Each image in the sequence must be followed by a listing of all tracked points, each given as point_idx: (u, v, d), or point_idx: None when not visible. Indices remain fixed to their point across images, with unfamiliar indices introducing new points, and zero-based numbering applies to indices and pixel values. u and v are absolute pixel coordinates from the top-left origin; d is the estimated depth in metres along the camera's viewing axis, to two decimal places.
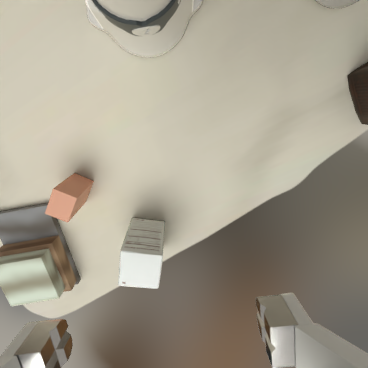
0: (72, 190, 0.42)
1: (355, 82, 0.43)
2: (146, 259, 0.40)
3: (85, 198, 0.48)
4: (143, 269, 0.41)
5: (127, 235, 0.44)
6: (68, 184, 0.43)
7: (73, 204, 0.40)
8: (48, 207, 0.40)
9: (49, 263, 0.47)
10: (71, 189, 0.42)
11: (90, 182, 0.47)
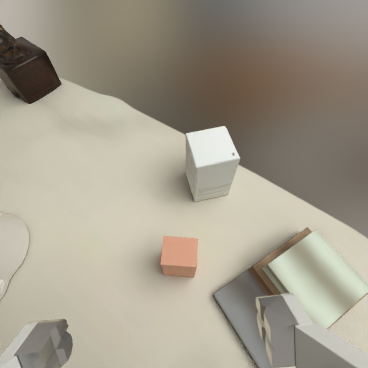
0: None
1: (31, 96, 0.60)
2: (195, 143, 0.39)
3: None
4: (208, 142, 0.39)
5: (194, 182, 0.41)
6: None
7: (172, 238, 0.35)
8: (186, 264, 0.33)
9: (277, 256, 0.36)
10: None
11: None
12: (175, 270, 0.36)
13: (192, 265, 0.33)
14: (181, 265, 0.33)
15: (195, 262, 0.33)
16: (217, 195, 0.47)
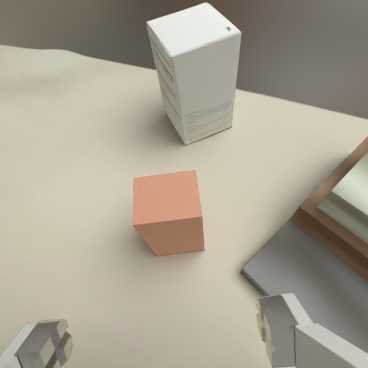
0: None
1: None
2: (163, 29, 0.23)
3: None
4: (184, 23, 0.24)
5: (176, 100, 0.26)
6: None
7: (150, 178, 0.19)
8: (182, 215, 0.17)
9: None
10: None
11: None
12: (168, 238, 0.20)
13: (193, 215, 0.17)
14: (173, 219, 0.17)
15: (198, 208, 0.17)
16: (216, 129, 0.32)
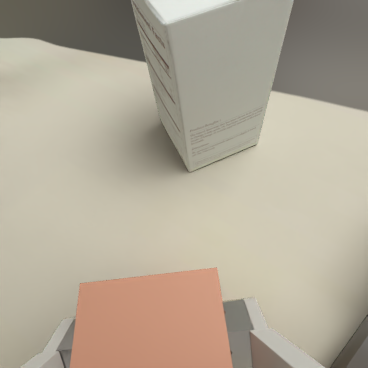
0: None
1: None
2: None
3: None
4: None
5: (176, 106, 0.15)
6: None
7: (116, 284, 0.09)
8: None
9: None
10: None
11: None
12: None
13: None
14: None
15: None
16: (236, 148, 0.21)
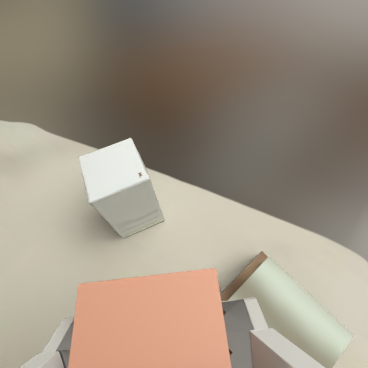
0: None
1: None
2: (89, 169, 0.29)
3: None
4: (106, 164, 0.29)
5: (104, 218, 0.31)
6: None
7: (115, 285, 0.09)
8: None
9: None
10: None
11: None
12: None
13: None
14: None
15: None
16: (150, 225, 0.37)
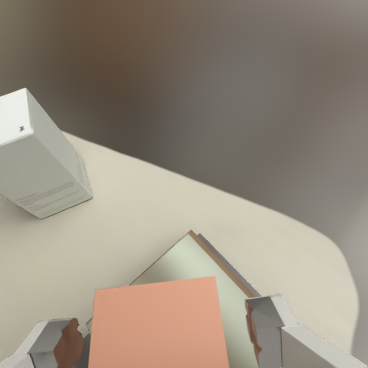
0: None
1: None
2: None
3: None
4: None
5: None
6: None
7: (127, 290, 0.10)
8: None
9: None
10: None
11: None
12: None
13: None
14: None
15: None
16: (72, 202, 0.30)
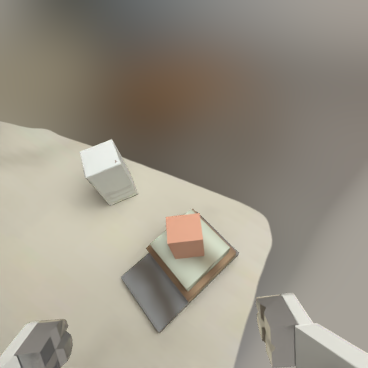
0: None
1: None
2: (86, 158, 0.48)
3: None
4: (96, 155, 0.48)
5: (96, 189, 0.50)
6: None
7: (175, 217, 0.35)
8: (192, 238, 0.33)
9: None
10: None
11: None
12: (184, 249, 0.36)
13: (198, 238, 0.33)
14: (188, 240, 0.33)
15: (201, 235, 0.33)
16: (127, 196, 0.56)
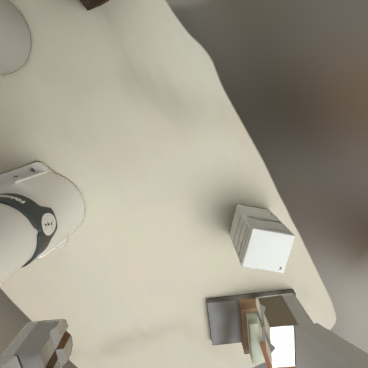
0: None
1: (91, 2, 0.40)
2: (254, 244, 0.39)
3: None
4: (267, 248, 0.39)
5: (236, 250, 0.44)
6: (271, 366, 0.44)
7: None
8: None
9: None
10: None
11: None
12: None
13: None
14: None
15: None
16: None
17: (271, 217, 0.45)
